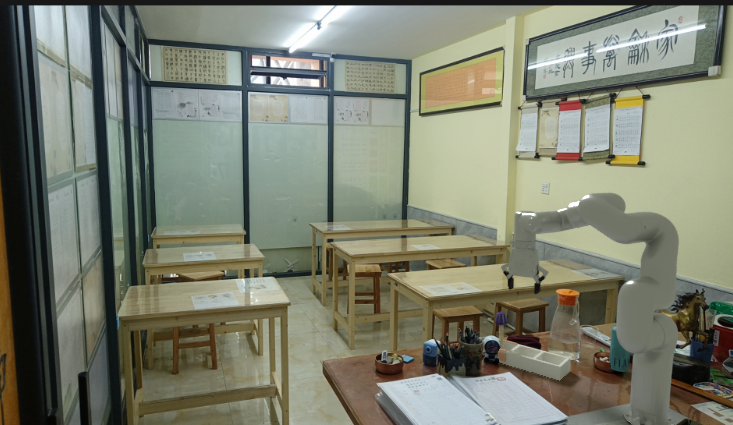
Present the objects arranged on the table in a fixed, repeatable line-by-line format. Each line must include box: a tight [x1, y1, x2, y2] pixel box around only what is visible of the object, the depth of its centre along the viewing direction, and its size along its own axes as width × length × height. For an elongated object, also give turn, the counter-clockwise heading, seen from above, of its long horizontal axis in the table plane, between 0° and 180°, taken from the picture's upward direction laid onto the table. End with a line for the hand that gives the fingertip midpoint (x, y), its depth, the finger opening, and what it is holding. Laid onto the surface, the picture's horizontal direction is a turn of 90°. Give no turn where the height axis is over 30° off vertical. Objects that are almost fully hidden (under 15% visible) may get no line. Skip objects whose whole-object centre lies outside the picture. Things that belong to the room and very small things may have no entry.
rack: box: [498, 339, 572, 382], centre depth 173 cm, size 11×28×5 cm, turn 48°
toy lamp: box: [494, 311, 509, 349], centre depth 179 cm, size 5×5×17 cm
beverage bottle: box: [608, 315, 631, 373], centre depth 167 cm, size 6×7×20 cm
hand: (523, 291), depth 174 cm, fingers open, 9 cm apart
